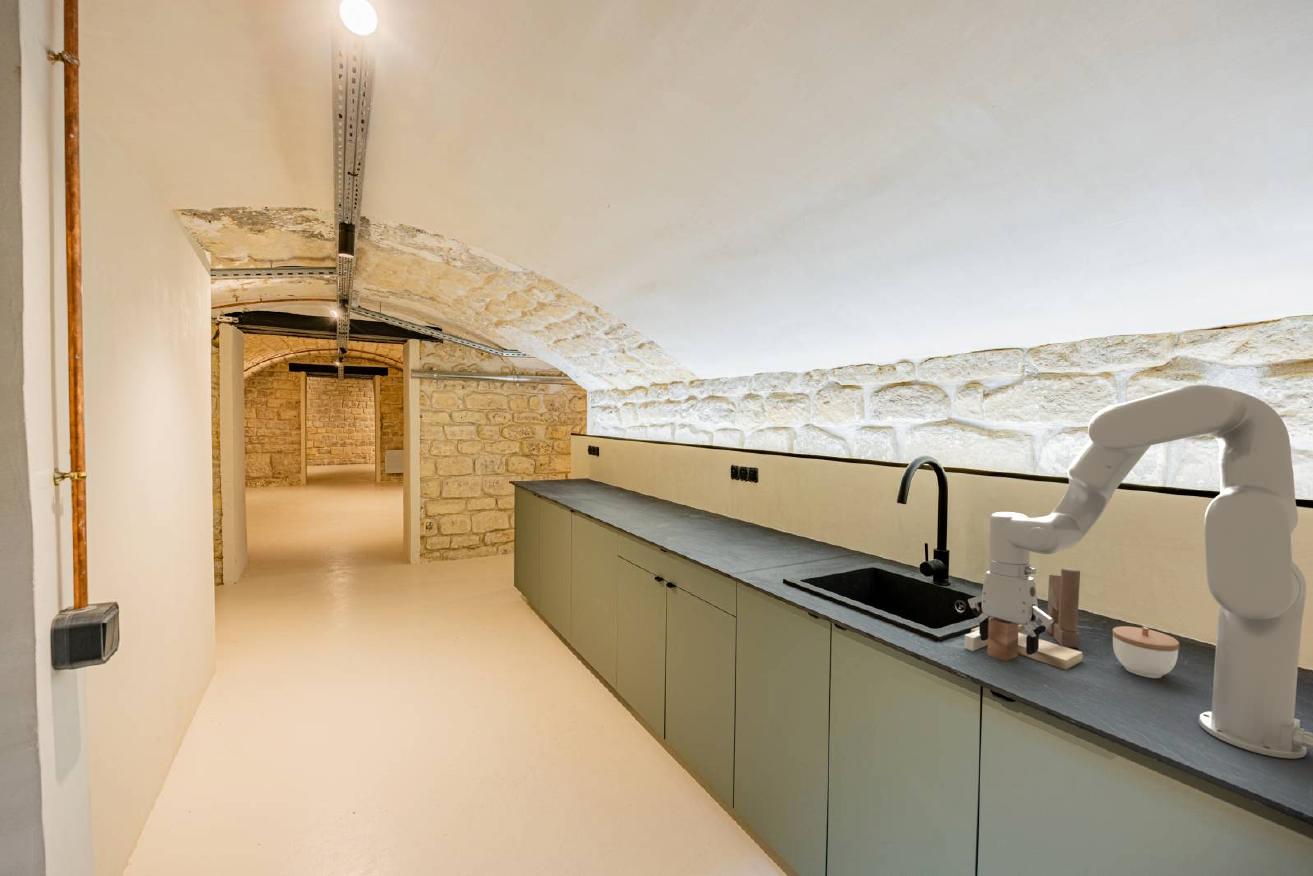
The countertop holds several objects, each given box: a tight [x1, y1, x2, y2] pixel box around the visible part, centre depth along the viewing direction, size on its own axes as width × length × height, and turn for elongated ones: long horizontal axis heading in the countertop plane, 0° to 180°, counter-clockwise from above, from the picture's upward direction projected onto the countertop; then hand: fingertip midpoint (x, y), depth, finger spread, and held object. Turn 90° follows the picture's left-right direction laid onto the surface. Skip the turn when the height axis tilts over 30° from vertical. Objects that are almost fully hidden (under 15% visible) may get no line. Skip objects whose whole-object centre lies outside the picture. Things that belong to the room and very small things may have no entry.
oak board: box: [970, 626, 1083, 670], centre depth 132 cm, size 20×8×2 cm, turn 33°
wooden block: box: [1046, 567, 1081, 649], centre depth 138 cm, size 4×11×18 cm, turn 162°
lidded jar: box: [1112, 625, 1180, 679], centre depth 121 cm, size 11×11×9 cm
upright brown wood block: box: [986, 617, 1026, 662], centre depth 130 cm, size 4×14×8 cm, turn 123°
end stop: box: [963, 630, 988, 652], centre depth 133 cm, size 2×7×3 cm, turn 123°
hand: (1007, 646), depth 127 cm, fingers open, 9 cm apart
